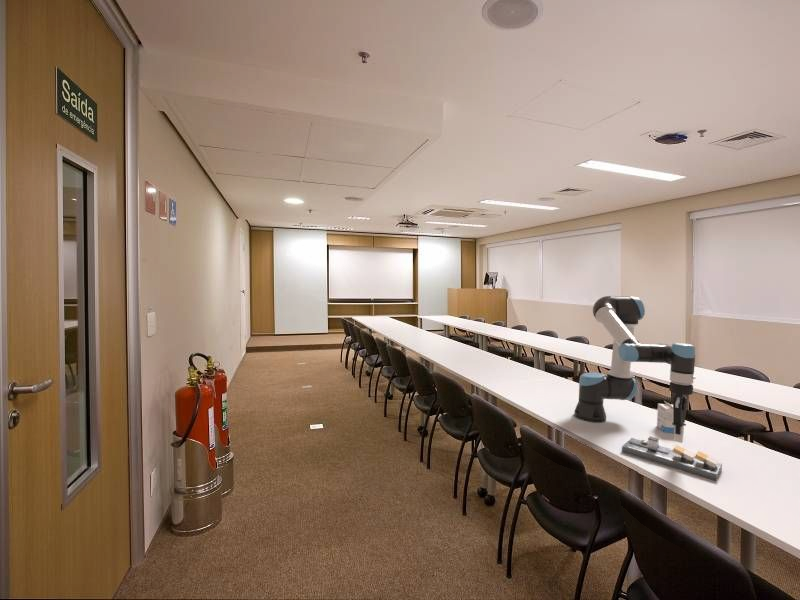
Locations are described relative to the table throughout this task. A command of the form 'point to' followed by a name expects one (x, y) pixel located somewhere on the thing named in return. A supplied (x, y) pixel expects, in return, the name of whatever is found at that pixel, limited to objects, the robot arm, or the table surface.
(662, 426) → the ink box
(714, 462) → the rocker
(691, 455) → the rocker
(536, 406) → the table surface
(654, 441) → the slider
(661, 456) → the console
